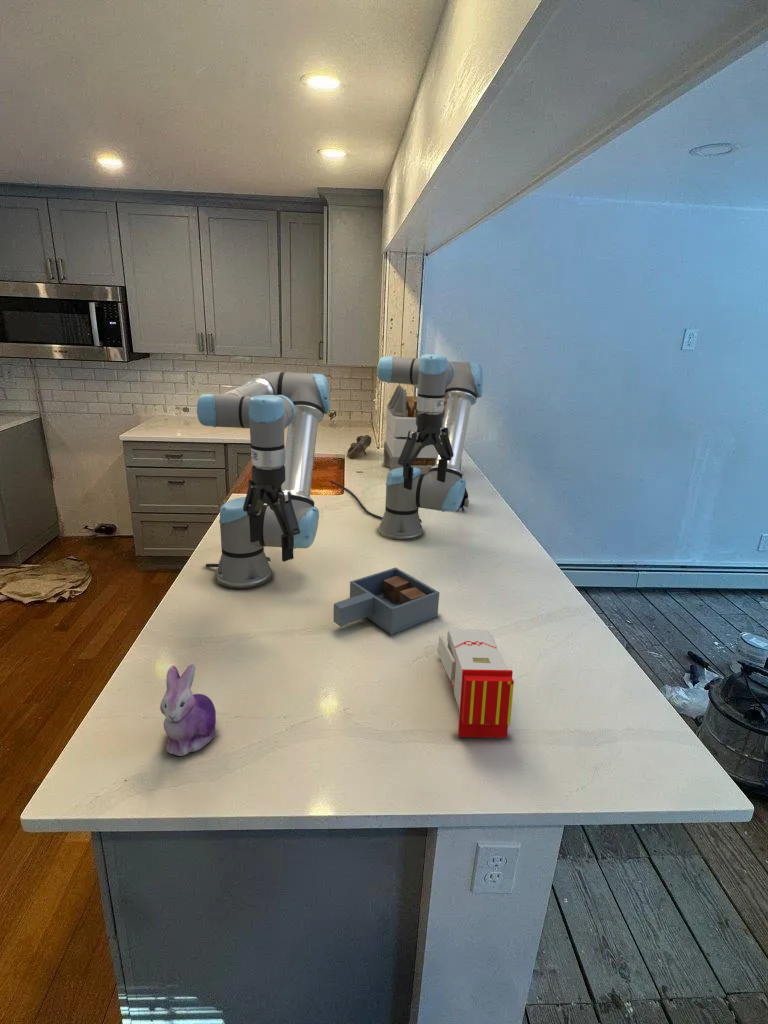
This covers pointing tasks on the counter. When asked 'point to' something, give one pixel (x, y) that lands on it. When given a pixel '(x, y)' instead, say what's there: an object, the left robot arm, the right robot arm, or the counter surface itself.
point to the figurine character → (464, 500)
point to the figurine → (186, 714)
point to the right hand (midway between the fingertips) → (424, 484)
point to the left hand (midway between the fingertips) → (271, 550)
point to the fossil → (359, 446)
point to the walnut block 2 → (410, 595)
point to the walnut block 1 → (394, 588)
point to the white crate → (404, 430)
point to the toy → (478, 682)
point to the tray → (386, 603)
